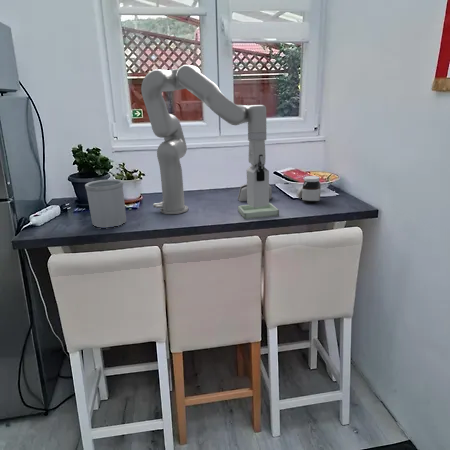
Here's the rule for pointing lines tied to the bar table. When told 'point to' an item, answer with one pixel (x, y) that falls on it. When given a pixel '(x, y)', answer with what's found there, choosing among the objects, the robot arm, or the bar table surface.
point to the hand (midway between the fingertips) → (257, 178)
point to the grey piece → (243, 193)
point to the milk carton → (257, 188)
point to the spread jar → (310, 190)
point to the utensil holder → (106, 202)
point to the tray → (258, 211)
